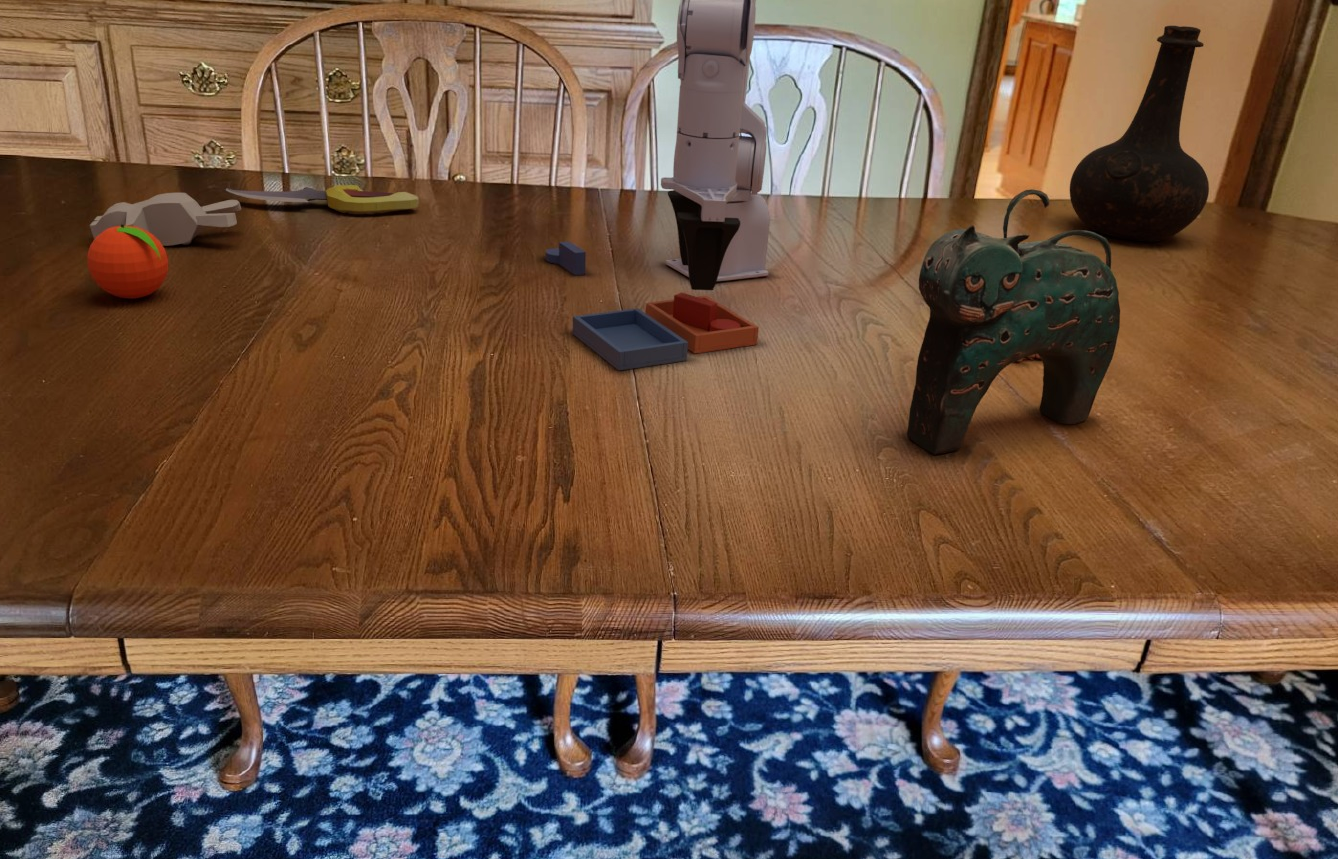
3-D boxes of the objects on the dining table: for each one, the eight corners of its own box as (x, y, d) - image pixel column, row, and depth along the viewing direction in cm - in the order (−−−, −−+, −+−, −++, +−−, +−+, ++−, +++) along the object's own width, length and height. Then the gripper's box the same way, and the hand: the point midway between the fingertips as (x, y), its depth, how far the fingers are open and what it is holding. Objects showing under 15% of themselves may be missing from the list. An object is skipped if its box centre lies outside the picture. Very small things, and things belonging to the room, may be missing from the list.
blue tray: (637, 325, 104) (638, 307, 103) (686, 360, 96) (688, 342, 95) (572, 333, 100) (572, 316, 100) (618, 370, 93) (619, 351, 92)
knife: (211, 209, 132) (413, 219, 133) (208, 188, 131) (412, 199, 132) (231, 195, 139) (423, 204, 140) (229, 175, 138) (422, 185, 139)
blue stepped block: (541, 257, 122) (541, 235, 121) (565, 255, 124) (565, 233, 123) (567, 276, 117) (568, 253, 115) (592, 273, 118) (592, 251, 117)
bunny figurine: (97, 196, 119) (236, 180, 122) (110, 239, 121) (246, 223, 125) (79, 217, 111) (229, 200, 114) (94, 264, 113) (240, 246, 117)
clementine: (197, 296, 103) (187, 224, 100) (138, 315, 98) (125, 240, 94) (138, 281, 106) (126, 211, 103) (77, 299, 100) (63, 226, 97)
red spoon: (746, 333, 102) (748, 308, 101) (728, 341, 100) (730, 315, 99) (684, 314, 106) (686, 290, 105) (666, 321, 104) (668, 296, 103)
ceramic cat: (925, 466, 80) (975, 203, 71) (873, 431, 85) (913, 182, 76) (1109, 427, 88) (1173, 189, 80) (1052, 397, 94) (1106, 171, 85)
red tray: (704, 311, 109) (706, 295, 108) (757, 344, 101) (758, 326, 100) (644, 319, 105) (645, 302, 105) (694, 353, 98) (695, 335, 97)
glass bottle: (1038, 227, 151) (1083, 18, 139) (1098, 212, 162) (1145, 18, 150) (1159, 258, 139) (1220, 34, 127) (1214, 240, 150) (1276, 32, 138)
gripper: (657, 117, 102) (649, 253, 108) (672, 146, 89) (662, 299, 95) (729, 120, 103) (717, 255, 109) (754, 150, 90) (739, 301, 96)
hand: (697, 276), depth 102 cm, fingers open, 7 cm apart
